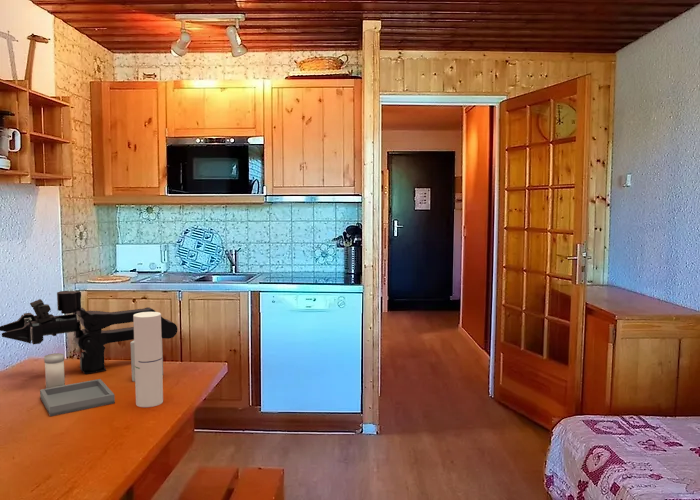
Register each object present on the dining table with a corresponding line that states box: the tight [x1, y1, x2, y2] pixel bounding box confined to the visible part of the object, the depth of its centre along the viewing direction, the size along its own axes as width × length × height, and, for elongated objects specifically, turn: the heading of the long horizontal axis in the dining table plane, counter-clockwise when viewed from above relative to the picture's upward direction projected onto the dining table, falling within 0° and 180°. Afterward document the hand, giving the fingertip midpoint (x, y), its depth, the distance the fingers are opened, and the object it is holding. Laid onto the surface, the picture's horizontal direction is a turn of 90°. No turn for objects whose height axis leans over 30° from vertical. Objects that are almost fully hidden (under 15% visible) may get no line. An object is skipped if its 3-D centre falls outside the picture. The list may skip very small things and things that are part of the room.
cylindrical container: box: [133, 311, 164, 408], centre depth 155 cm, size 7×7×25 cm
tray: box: [39, 378, 116, 417], centre depth 157 cm, size 16×16×2 cm
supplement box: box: [129, 340, 164, 382], centre depth 176 cm, size 7×7×13 cm
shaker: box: [43, 352, 66, 389], centre depth 166 cm, size 5×5×10 cm
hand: (0, 331), depth 167 cm, fingers open, 9 cm apart
